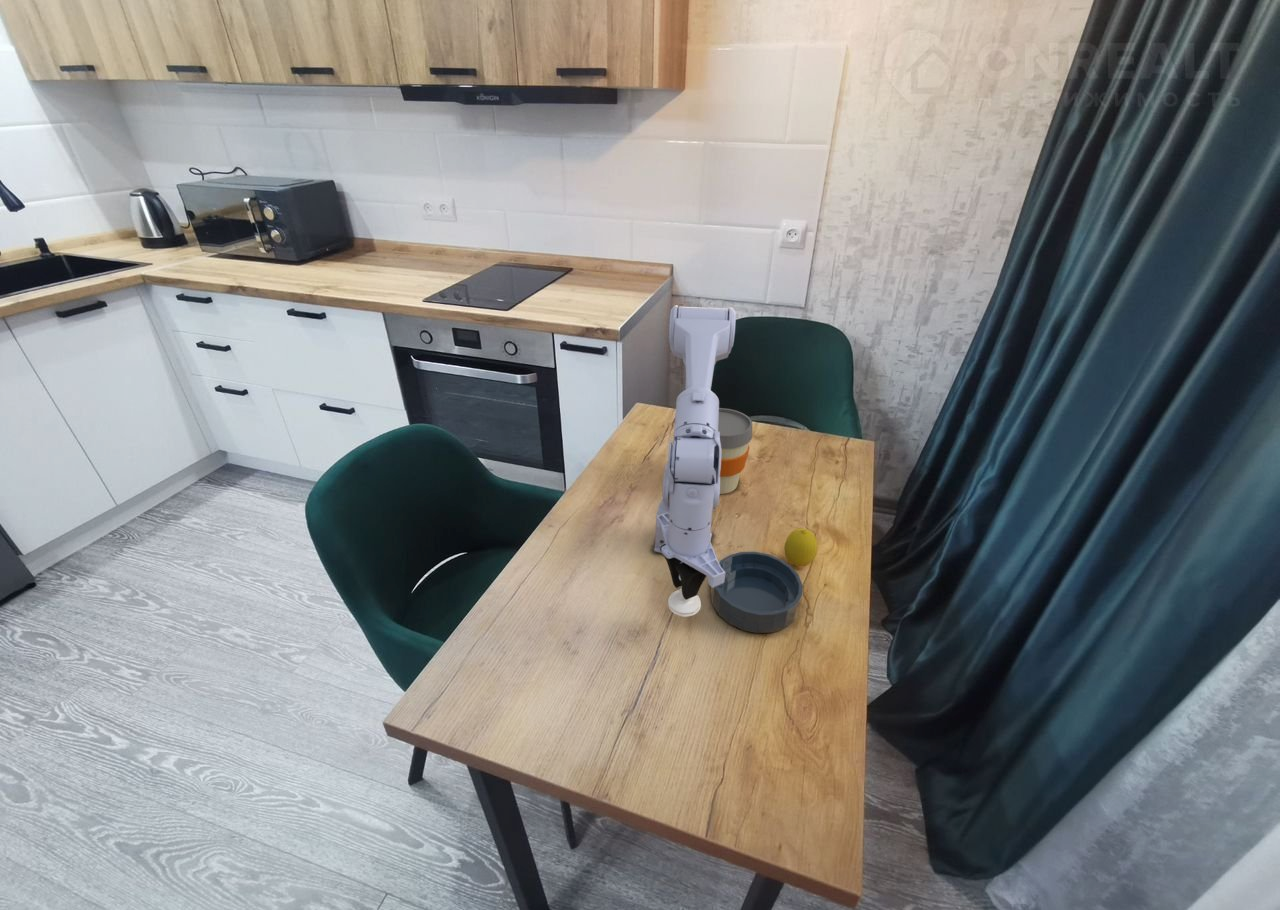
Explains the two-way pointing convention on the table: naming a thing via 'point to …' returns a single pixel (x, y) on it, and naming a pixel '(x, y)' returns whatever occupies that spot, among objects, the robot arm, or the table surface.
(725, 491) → the reusable coffee cup
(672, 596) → the chess piece
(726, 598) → the bowl
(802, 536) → the lemon
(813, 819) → the table surface
